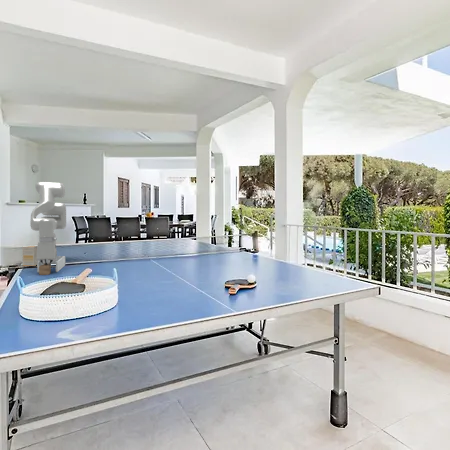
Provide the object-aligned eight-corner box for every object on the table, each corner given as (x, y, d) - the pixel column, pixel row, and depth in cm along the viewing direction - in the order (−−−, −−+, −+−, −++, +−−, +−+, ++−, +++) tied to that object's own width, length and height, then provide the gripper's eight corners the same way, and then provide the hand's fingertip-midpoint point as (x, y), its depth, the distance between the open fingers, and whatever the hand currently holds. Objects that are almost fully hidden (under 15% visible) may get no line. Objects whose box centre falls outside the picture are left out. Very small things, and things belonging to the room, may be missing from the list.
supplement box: (39, 265, 225) (38, 245, 224) (34, 267, 220) (34, 246, 219) (27, 265, 226) (26, 245, 225) (22, 266, 221) (21, 246, 220)
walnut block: (41, 273, 201) (41, 264, 201) (50, 273, 202) (50, 264, 202) (39, 275, 196) (39, 266, 196) (48, 274, 197) (48, 266, 197)
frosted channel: (47, 265, 226) (47, 256, 226) (65, 265, 229) (65, 256, 229) (37, 272, 203) (37, 262, 203) (57, 271, 206) (57, 262, 206)
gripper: (61, 239, 208) (62, 269, 209) (34, 239, 204) (34, 270, 205) (59, 240, 200) (59, 271, 201) (30, 240, 196) (31, 272, 197)
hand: (46, 270), depth 203 cm, fingers closed
